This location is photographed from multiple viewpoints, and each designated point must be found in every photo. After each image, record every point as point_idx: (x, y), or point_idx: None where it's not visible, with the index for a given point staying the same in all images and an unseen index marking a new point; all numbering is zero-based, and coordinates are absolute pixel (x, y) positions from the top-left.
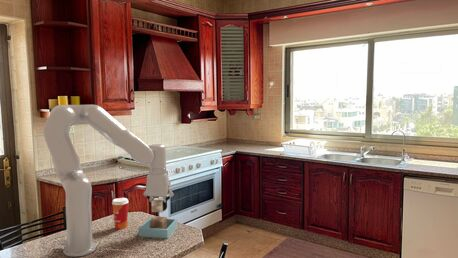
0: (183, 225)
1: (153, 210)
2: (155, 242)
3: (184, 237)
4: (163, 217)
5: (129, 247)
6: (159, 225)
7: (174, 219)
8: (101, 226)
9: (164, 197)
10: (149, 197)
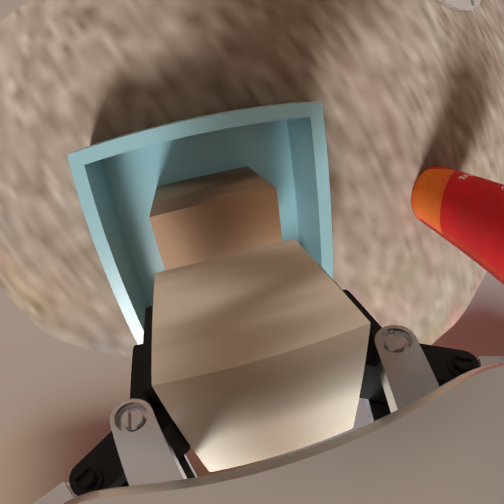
0: None
1: (277, 251)
2: (141, 76)
3: (27, 225)
4: None
5: None
6: (178, 199)
7: None
8: None
9: (138, 479)
10: (434, 374)
